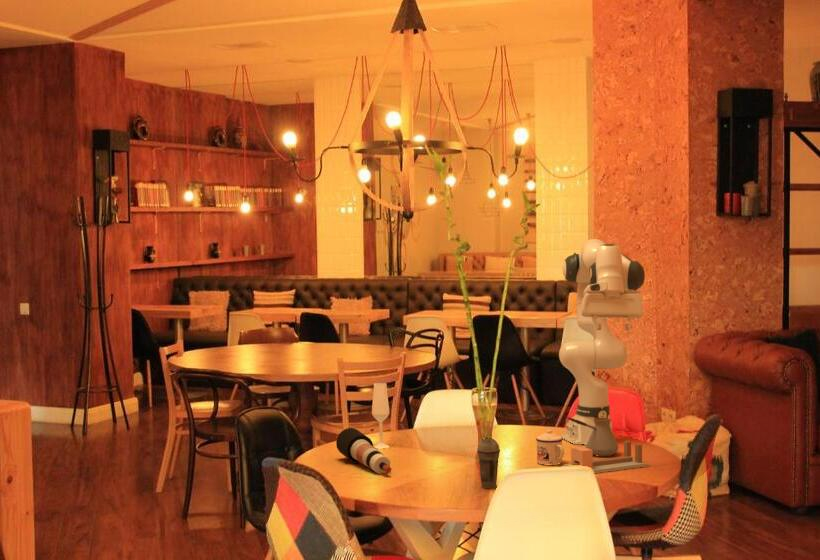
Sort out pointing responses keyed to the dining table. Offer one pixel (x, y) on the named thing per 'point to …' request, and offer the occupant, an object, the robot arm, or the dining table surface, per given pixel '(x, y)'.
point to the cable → (362, 450)
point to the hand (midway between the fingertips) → (613, 329)
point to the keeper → (582, 456)
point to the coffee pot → (600, 437)
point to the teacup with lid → (549, 448)
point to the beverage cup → (488, 461)
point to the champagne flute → (380, 409)
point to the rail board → (619, 460)
